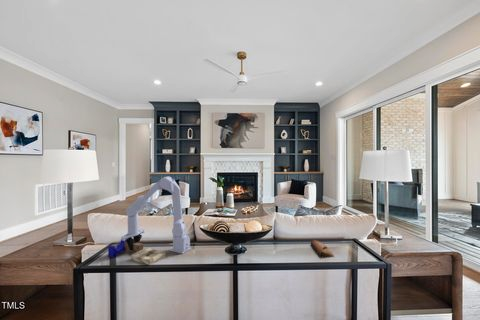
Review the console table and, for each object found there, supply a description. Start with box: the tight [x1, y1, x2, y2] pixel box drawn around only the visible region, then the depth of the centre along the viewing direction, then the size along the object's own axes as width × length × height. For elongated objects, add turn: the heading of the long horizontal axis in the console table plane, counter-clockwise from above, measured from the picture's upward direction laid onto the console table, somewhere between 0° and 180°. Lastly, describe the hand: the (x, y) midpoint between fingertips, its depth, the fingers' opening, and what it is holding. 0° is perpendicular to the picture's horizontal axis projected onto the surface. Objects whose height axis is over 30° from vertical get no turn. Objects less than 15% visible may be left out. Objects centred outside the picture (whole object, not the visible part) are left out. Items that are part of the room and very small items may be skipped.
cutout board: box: [130, 247, 167, 266], centre depth 132 cm, size 14×11×2 cm
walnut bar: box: [124, 242, 144, 254], centre depth 142 cm, size 12×3×5 cm, turn 63°
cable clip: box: [107, 239, 126, 258], centre depth 140 cm, size 12×4×6 cm, turn 170°
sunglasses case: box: [310, 239, 335, 258], centre depth 142 cm, size 18×7×7 cm
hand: (133, 248), depth 142 cm, fingers open, 3 cm apart
